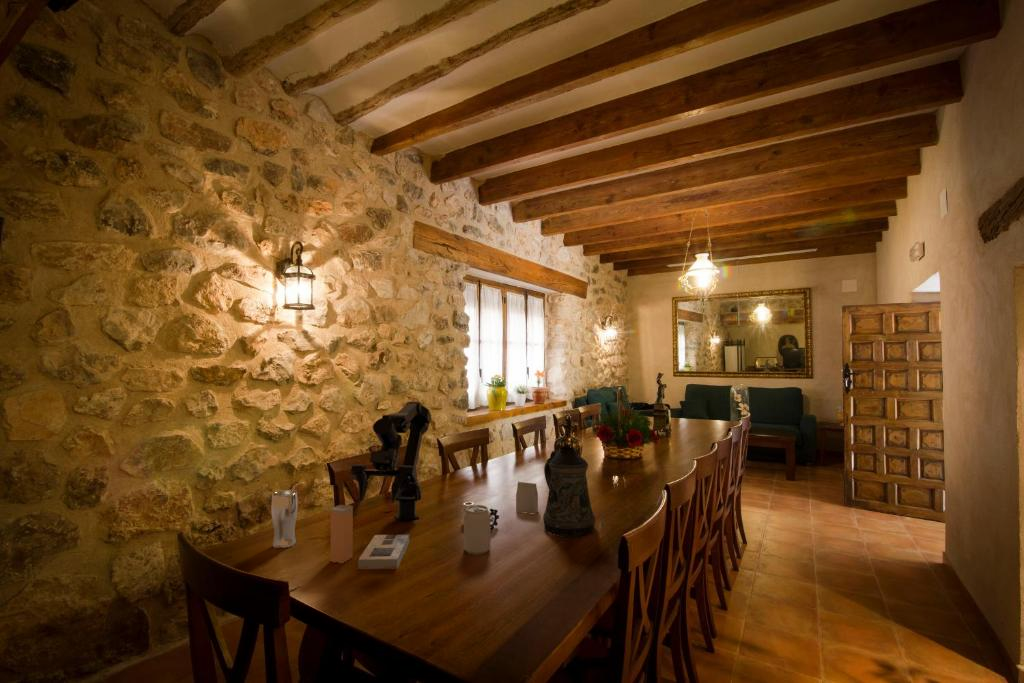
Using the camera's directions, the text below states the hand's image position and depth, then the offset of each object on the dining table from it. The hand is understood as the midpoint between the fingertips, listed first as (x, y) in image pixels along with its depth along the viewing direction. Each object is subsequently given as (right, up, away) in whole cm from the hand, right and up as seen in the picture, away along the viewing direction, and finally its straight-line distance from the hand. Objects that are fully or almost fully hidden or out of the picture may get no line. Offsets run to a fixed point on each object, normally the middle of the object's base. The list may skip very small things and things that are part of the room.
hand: (376, 501), depth 136 cm
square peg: (-8, -14, -5) cm, 17 cm away
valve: (+27, -15, +19) cm, 36 cm away
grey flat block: (+3, -14, -3) cm, 15 cm away
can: (+28, -14, 0) cm, 32 cm away
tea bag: (+43, -15, +33) cm, 57 cm away
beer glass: (-28, -14, +5) cm, 32 cm away
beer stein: (+55, -14, +18) cm, 60 cm away
